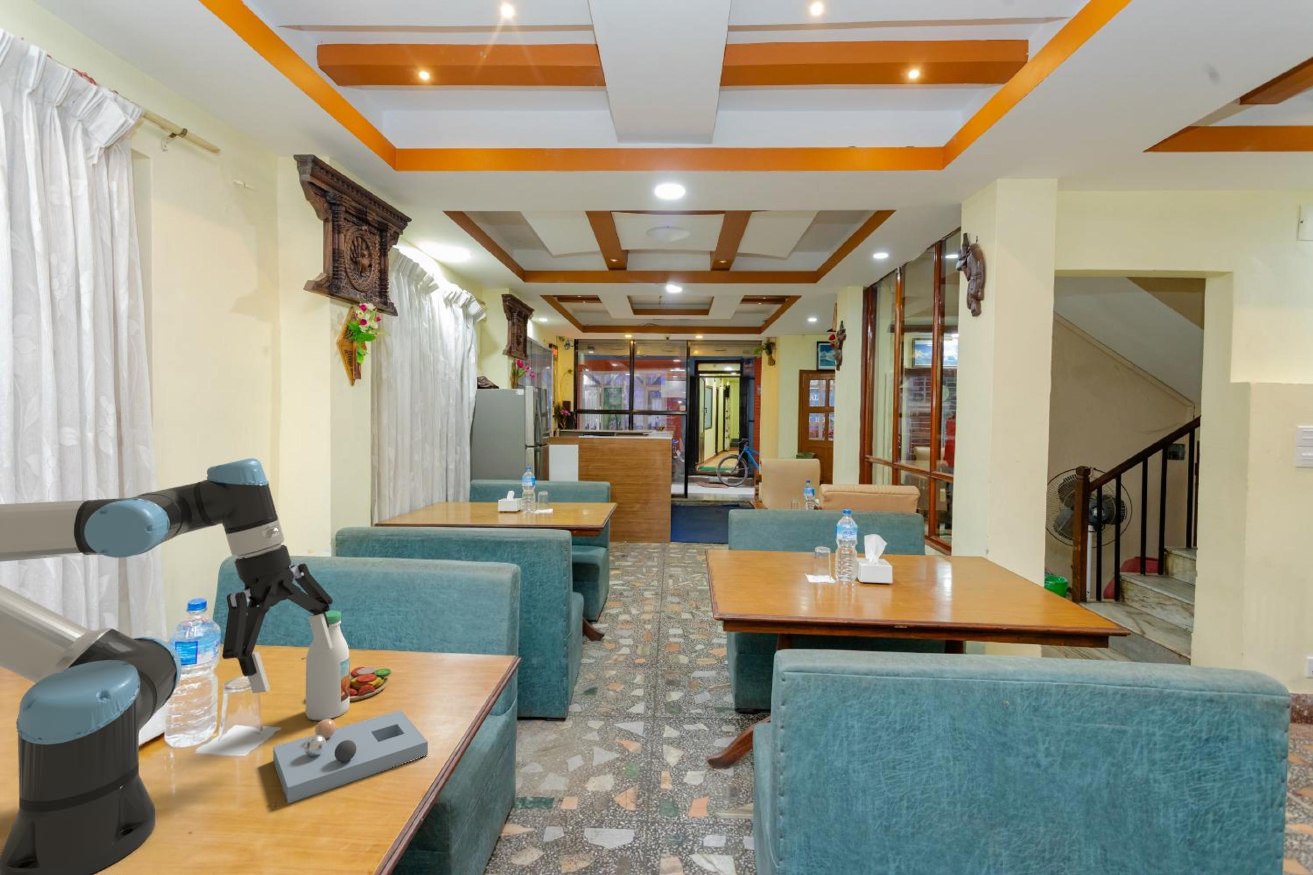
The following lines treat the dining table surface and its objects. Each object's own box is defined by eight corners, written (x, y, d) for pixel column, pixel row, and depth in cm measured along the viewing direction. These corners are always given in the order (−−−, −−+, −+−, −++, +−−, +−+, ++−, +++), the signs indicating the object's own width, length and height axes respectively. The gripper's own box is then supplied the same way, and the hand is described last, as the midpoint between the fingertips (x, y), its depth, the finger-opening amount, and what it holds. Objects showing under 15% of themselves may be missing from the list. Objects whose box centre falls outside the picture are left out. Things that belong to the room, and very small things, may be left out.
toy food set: (306, 701, 124) (306, 685, 124) (348, 675, 137) (348, 661, 137) (364, 706, 122) (364, 691, 122) (401, 680, 135) (401, 665, 135)
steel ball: (306, 762, 97) (306, 742, 97) (302, 753, 99) (302, 735, 99) (328, 755, 99) (328, 736, 99) (324, 747, 101) (324, 729, 101)
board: (287, 803, 90) (287, 787, 90) (273, 760, 102) (273, 746, 102) (427, 755, 104) (427, 741, 104) (400, 722, 115) (400, 709, 115)
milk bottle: (330, 723, 114) (330, 620, 114) (296, 719, 116) (296, 617, 116) (358, 705, 122) (358, 608, 122) (325, 701, 124) (325, 606, 123)
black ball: (337, 768, 95) (337, 748, 95) (332, 759, 98) (332, 740, 98) (358, 761, 97) (358, 741, 97) (353, 752, 100) (353, 734, 100)
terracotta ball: (317, 744, 102) (317, 726, 102) (313, 737, 105) (313, 719, 105) (337, 738, 104) (337, 720, 104) (333, 731, 107) (333, 713, 107)
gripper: (206, 576, 86) (249, 710, 88) (333, 525, 110) (364, 631, 112) (167, 582, 88) (210, 714, 90) (300, 531, 112) (331, 635, 114)
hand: (295, 668), depth 101 cm, fingers open, 13 cm apart
